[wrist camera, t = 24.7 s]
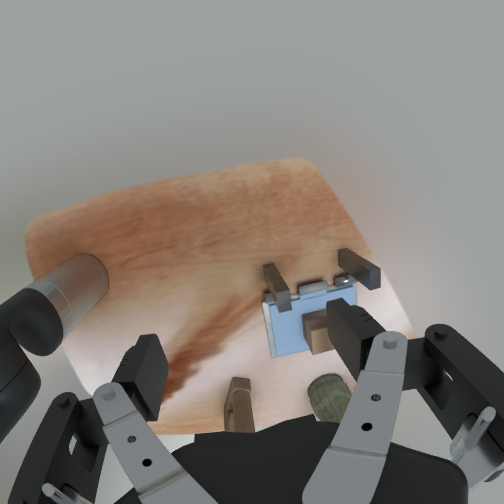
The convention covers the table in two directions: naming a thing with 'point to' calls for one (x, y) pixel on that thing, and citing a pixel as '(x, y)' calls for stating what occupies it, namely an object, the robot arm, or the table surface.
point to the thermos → (329, 397)
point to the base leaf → (348, 262)
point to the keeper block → (316, 331)
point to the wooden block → (239, 407)
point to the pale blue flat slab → (290, 322)
